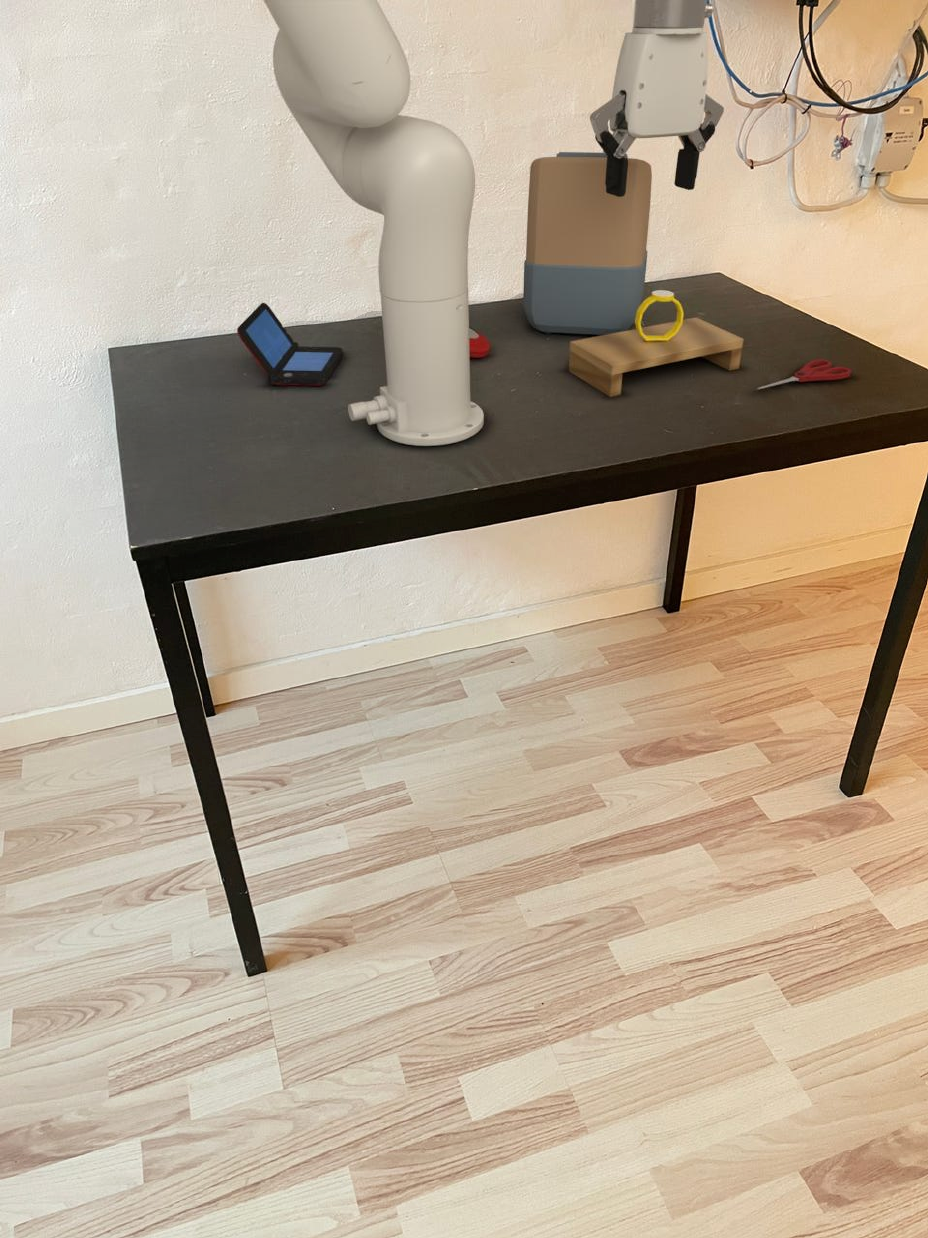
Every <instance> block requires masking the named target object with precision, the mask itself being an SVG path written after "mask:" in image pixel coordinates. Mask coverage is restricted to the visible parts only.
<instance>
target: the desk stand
mask: <svg viewBox="0 0 928 1238" xmlns="http://www.w3.org/2000/svg"><path fill="white" fill-rule="evenodd" d="M676 321H677V320H675V321H670V322H665V323H660V324H659V323H658V324H654V325H648V326H644V327H641V328H642V332H643V333H644V335H645V336H663V335H665V334H666V333H667V332H669V331H670V330H671V329H672V327H673V325H674V324H675V322H676ZM743 344H744V338H743V337H741V336H738V335H736V334H734V333H731V332H729V331H727V330H726V329H722V328H720V327H718V326H716V325H714V324H712V323H709V322H707V321H705V320H703V319H700V318H698V317H690V318H686V319H683V323H682V326H681V327H680V329H679V331H678V332H677V334H676V335H675V336H674V337H672V338H671V339H670V340H668V341H646V340H645V339H644V338H643V337H642V336H641V335H640V334H639V333H638V332H637V329H636V328H633V329H628V330H627V331H623V332H617V333H612V334H607V335H596V336H591V337H587V338H581V339H577V340H570V342H569V357H568V358H569V359H568V372H569V373H571V374H573V375H574V376H576V377H577V378H579V379H580V380H582V381H584V382H585V383H587V384H588V385H590V386H592V387H593V388H595V389H596V390H598V391H600V392H601V393H603V394H604V395H606V396H608V397H609V398H612V397H617V396H621V394H622V385H623V384H622V383H623V373H624V374H625V373H629V372H633V371H638V370H643V369H647V368H654V367H657V366H662V365H667V364H671V363H676V362H680V361H686V360H690V359H694V358H703V359H705V360H707V361H709V362H711V363H713V364H714V365H717V366H719V367H721V368H723V369H725V370H727V371H735V370H738V369H740V363H741V357H742V352H743V351H742V350H743V346H744V345H743Z"/></svg>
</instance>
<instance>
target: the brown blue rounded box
mask: <svg viewBox="0 0 928 1238" xmlns="http://www.w3.org/2000/svg"><path fill="white" fill-rule="evenodd" d="M624 158H628V171H627V181H626V192H625V195H624V196H623V197H617V196H614V195H611V194H608V193H607V192H606V185H605V178H606V166H607V155H605V154H604V153H603V152H589V151H587V152H586V151H585V152H583V151H582V152H581V151H580V152H579V151H559V152H558V153H556V155H555V156H544V157H539V158H535V159H534V160H533V161H531V163H530V168H529V184H528V199H527V218H526V219H527V220H526V223H527V224H526V243H525V244H526V246H525V250H526V251H525V260H524V261H523V294H522V295H523V297H522V306H523V309H524V313H525V316H526V320H527V322H528V323H529V324H530V325H531V327H532V328H533V329H534V330H537V331H540V332H542V333H544V334H547V335H552V333H557V334H558V333H559V334H576V335H577V334H578V335H596V336H602V335H607V334H612V333H617V332H623V331H628V330H630V328H631V327H632V326H633V325H635V317H636V313H637V310H638V308H639V307H640V305H641V304H642V302H643V296H644V293H645V284H646V274H647V263H648V250H647V246H648V237H649V236H648V235H649V221H650V214H651V213H650V212H651V198H652V197H651V196H652V183H653V182H652V180H653V179H652V178H653V174H652V166H651V164H650V163H649V162H647V161H646V160H644V159H639V158H633V157H631V158H630V157H628V154H627V152H626V153H625V155H624Z"/></svg>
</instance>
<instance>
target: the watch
mask: <svg viewBox="0 0 928 1238" xmlns="http://www.w3.org/2000/svg"><path fill="white" fill-rule="evenodd" d="M655 302H663V303H667V302H669V303H670V302H672V303H674V305H675V308H676V310H677V312H676V320H675V321H676V322H675V321H674V322H675V324H674V325H673V327H672V329H671V330H670V331H669V332H667V333H666V334H665V335H663V336H645V335H644V333H643V332H642V328H643V327H642V325H641V323H642V320H643V315H644V313H645V312H646V310H647V309H648V308H649V306H650V305H651V304H653V303H655ZM683 320H684V310H683V306H682V304H681V303H680V301H679V300H677V298H675V293H674V292H672V291H670V290H664V289H663V290H662V289H661V290H660V289H658V290H657V289H656V290H653V291H651V295H650V296H648V297H647V298H645V299H644V300H642V302H641V305H640V307H639V308H638V310H637V313H636V317H635V322H634V325H635V329H637V332H638V333H639V334H640V335H641V336H642V337H643V338H644V339H645V340H646V341H668V340H670V339H671V338H672V337H674V336H675V335H676V334H677V332H678V331H679V329H680V327H681V326H682V323H683Z"/></svg>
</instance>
